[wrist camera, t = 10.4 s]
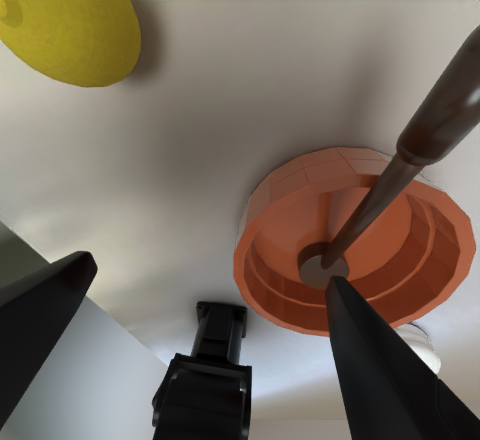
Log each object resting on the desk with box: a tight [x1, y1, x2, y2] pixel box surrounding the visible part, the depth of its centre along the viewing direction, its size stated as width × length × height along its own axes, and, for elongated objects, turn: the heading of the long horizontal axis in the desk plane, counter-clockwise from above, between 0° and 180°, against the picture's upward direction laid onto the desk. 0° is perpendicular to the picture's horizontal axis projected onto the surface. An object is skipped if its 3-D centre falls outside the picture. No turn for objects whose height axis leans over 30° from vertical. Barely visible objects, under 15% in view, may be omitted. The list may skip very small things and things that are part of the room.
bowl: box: [233, 147, 476, 337], centre depth 19 cm, size 16×16×6 cm
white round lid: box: [394, 323, 441, 374], centre depth 28 cm, size 10×10×4 cm
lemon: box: [0, 0, 141, 87], centre depth 11 cm, size 6×6×8 cm
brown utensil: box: [297, 25, 480, 289], centre depth 14 cm, size 19×4×10 cm, turn 179°
